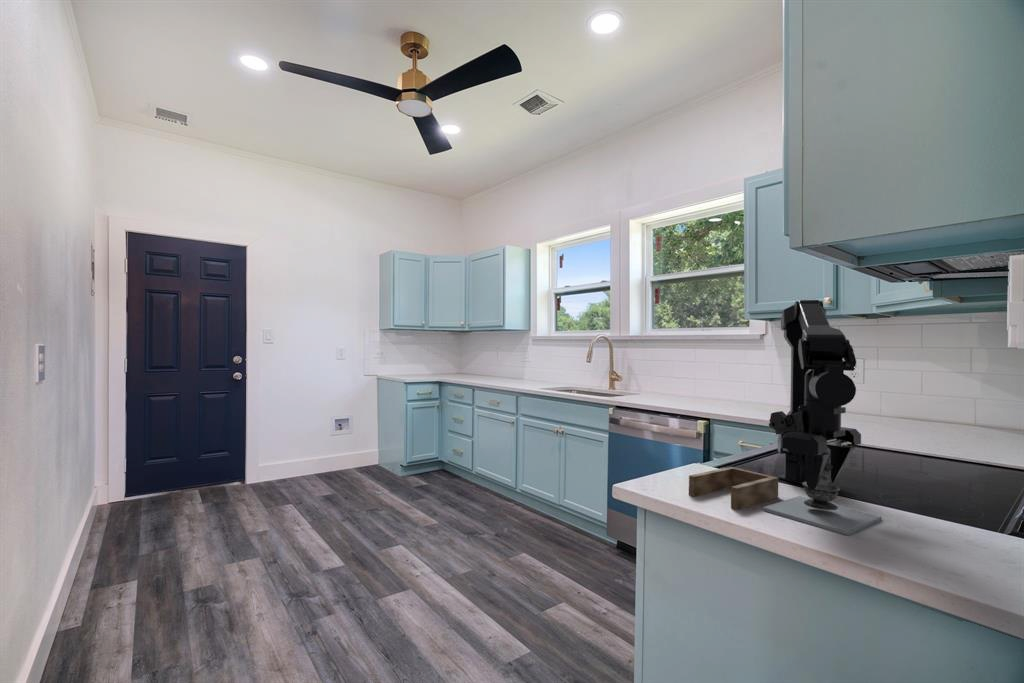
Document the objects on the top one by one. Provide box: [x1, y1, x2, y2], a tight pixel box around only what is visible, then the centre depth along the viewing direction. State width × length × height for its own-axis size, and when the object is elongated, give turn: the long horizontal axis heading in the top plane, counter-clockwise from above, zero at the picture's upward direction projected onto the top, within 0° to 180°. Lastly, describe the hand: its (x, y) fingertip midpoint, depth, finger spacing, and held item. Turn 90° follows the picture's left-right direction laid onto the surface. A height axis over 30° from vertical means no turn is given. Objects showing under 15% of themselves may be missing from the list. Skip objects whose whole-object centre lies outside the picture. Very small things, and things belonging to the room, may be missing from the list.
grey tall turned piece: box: [801, 447, 841, 510], centre depth 88 cm, size 6×6×12 cm
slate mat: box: [762, 495, 883, 536], centre depth 88 cm, size 14×14×1 cm
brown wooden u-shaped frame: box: [688, 466, 779, 511], centre depth 98 cm, size 15×10×4 cm
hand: (821, 485), depth 88 cm, fingers closed on grey tall turned piece, 7 cm apart
